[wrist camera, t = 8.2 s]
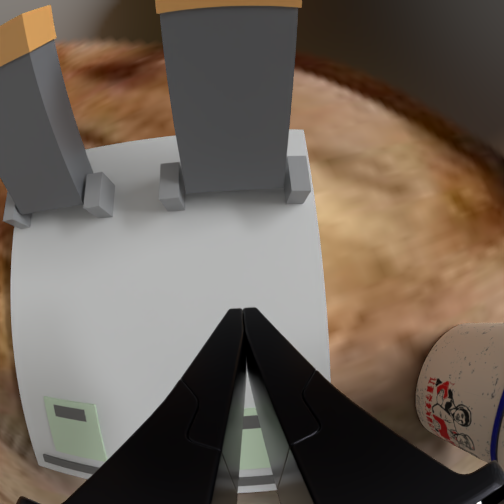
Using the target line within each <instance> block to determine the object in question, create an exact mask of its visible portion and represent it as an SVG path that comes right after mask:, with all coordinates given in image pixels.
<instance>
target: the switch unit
mask: <svg viewBox="0 0 504 504" xmlns="http://www.w3.org/2000/svg"><path fill="white" fill-rule="evenodd" d="M85 151H86V154H87V157H88V159H89V162H90V165H91V168H92V170H93V173H92V174H87V179H86V187H85V196H84V205H79V206H72V207H65V208H59V209H52V210H46V211H40V212H34V213H29V214H23V215H22V214H21V213H20V211H19V209H18V208H17V206H16V204H15V203H14V201H13V199H12V198H11V196H10V194H9V192H8V193H7V198H6V204H5V210H4V217H3V221H4V222H6V223H9V224H11V225H13V226H14V234H13V245H12V259H11V325H12V339H13V349H14V358H15V366H16V373H17V380H18V386H19V391H20V397H21V402H22V407H23V411H24V415H25V420H26V424H27V428H28V432H29V435H30V439H31V442H32V446H33V449H34V452H35V455H36V458H37V462H38V464H39V465H40V466H43V467H46V468H49V469H52V470H55V471H58V472H62V473H65V474H69V475H72V476H76V477H80V478H84V479H89V478H90V477H91V476H92V475H93V474H94V473H95V472H96V471H97V470H98V469H99V468H100V467H101V466H102V465H103V464H104V463H105V462H106V461H107V460H108V459H109V458H110V457H111V456H112V455H113V454H114V453H115V452H116V451H117V450H118V449H119V448H120V447H121V446H122V445H123V444H124V443H125V442H126V440H127V439H128V438H129V437H130V436H131V435H132V434H133V433H134V432H135V431H136V430H137V429H138V428H139V427H140V426H141V425H142V424H143V423H144V422H145V421H146V420H147V419H148V418H149V417H150V416H151V414H152V413H153V412H154V411H155V410H156V409H157V408H158V407H159V405H160V404H161V403H162V402H163V401H164V400H165V398H166V397H167V396H168V394H169V393H170V392H171V390H172V389H173V388H174V386H175V385H176V383H177V382H178V381H179V380H180V379H181V377H182V376H183V374H184V373H185V371H186V370H187V368H188V367H189V366H190V364H191V363H192V361H193V360H194V358H195V357H196V356H197V354H198V353H199V351H200V350H201V348H202V347H203V346H204V344H205V343H206V341H207V340H208V338H209V337H210V336H211V334H212V333H213V331H214V330H215V328H216V327H217V325H218V324H219V323H220V321H221V320H222V318H223V317H224V315H225V314H226V312H227V311H228V310H229V309H231V308H242V310H243V308H248V307H256V308H257V309H258V310H259V311H260V312H261V313H262V314H263V315H264V316H265V317H266V318H267V319H268V320H269V321H270V322H271V323H272V324H273V326H274V327H275V328H276V329H277V330H278V331H279V332H280V333H281V334H282V335H283V336H284V337H285V338H286V339H287V340H288V341H289V342H290V343H291V344H292V345H293V346H294V347H295V348H296V349H297V350H298V351H299V352H300V353H301V355H302V356H303V357H304V358H305V359H306V360H307V361H308V362H309V363H310V364H311V365H312V366H313V367H314V368H315V369H316V370H318V371H319V372H320V373H321V374H322V375H323V376H324V377H325V378H326V379H327V380H328V381H329V382H330V383H331V379H330V356H329V337H328V322H327V309H326V296H325V285H324V274H323V264H322V255H321V246H320V237H319V229H318V221H317V213H316V205H315V198H314V191H313V184H312V178H311V171H310V165H309V159H308V153H307V147H306V141H305V135H304V130H289V137H288V147H287V158H286V168H285V179H284V188H280V189H255V190H236V191H220V192H205V193H192V194H186V190H185V185H184V179H183V174H182V168H181V163H180V157H179V151H178V145H177V139H176V136H168V137H160V138H152V139H144V140H138V141H131V142H125V143H119V144H113V145H107V146H102V147H96V148H91V149H86V150H85ZM246 367H247V364H246ZM272 490H277V488H276V485H275V481H274V477H273V473H272V470H271V466H270V462H269V458H268V454H267V451H266V447H265V443H264V439H263V435H262V431H261V427H260V423H259V419H258V415H257V411H256V407H255V403H254V399H253V394H252V390H251V386H250V382H249V378H248V372H247V376H246V391H245V404H244V417H243V430H242V443H241V456H240V469H239V482H238V492H237V493H247V492H261V491H272Z"/></svg>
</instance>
